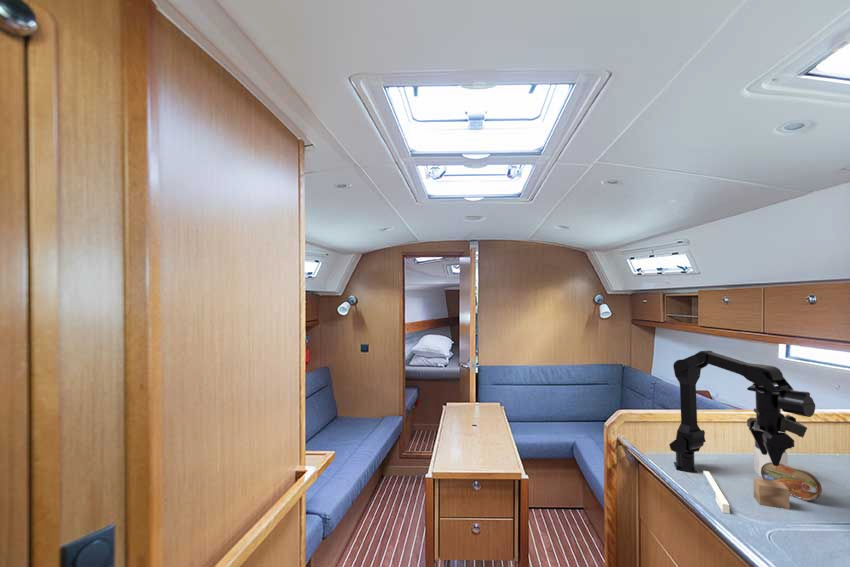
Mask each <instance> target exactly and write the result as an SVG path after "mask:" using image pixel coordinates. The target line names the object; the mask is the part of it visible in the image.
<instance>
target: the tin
mask: <svg viewBox="0 0 850 567" xmlns="http://www.w3.org/2000/svg"><path fill="white" fill-rule="evenodd" d="M761 475H762V477H761V479H764V480H771V481H778V482H782V483H783V484H784V485H785V486H786V487H787V488H788V489H789V494H792V495H795V496H797V497H801V498H802V499H804V500H803V501H807V502H809V501H814V500H817V499H818V498H820V497H821V495H822V492H823V489H822V485H821V483H820V481H819V479H818V478H817V477H815V476H814V475H813V474H812V473H810V472H809V471H805V470H803V469H798V468H795V467H792V466H786V465H783V464H780V463H779V466H774V465H773V464H772V463H766V464H764V465H763V466H762V468H761ZM802 499H801V500H802Z"/></svg>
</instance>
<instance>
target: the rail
mask: <svg viewBox="0 0 850 567" xmlns="http://www.w3.org/2000/svg"><path fill="white" fill-rule="evenodd" d="M702 474H703V475H702V476H703V477H702V478H703V480H704V482H705V484H706V485H707V487H708V489H709V491H710V492H711V495H712V496H713V498H714V499H715V501H716V503H717V505H718V506H719V508H720V510H721V512H722V513H723V514H730V512H731V511H730V504H729V501H728V500H727V498H726V497H725V496H724V494H723V493H722V491H721V489H720V488H719V486H718V484H717V482H716V481H715V479H714V478H713V476H712V474H711V473H710V471H707V470H703V471H702Z"/></svg>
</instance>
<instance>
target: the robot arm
mask: <svg viewBox="0 0 850 567" xmlns="http://www.w3.org/2000/svg"><path fill="white" fill-rule="evenodd" d="M708 365H711V366H714V367H717V368H720V369H722V370H726V371H728V372H731V373H735V374H737V375H740V376H742V377H744V378H745V379H746V380H748V381H749V382H750V383H752V384H751V385H750V386H748V387H747V388H746V390H747V391H751V392H755V394H754V395H755V408H754V407H753V412H754V413H755V417H749V418H748V419H746V426H747V427H748V431H749V432H750V433H751V435H752V437H753V438H754V442H755V441H756V443H757V445H758V447H759V449H760V451H761V453H762V454H763V455H767V452H768V455H769V457H770V459H771V461H772V464H773V465H774V466H779V463H780V460H781V457H782V455H783V452H784V451H785V450H788V449H792V448H795V439H794V438H792V437H791V436H790V435H789V434H788V433H787V432H790V433H792V434H794V435H796V436H798V437H800V438H804V437H805V434H806V432H807V430H808V427H807V426H805V425H804V424H802V423H800V422H797V418H795V417H794V416H791V415H789V414H793V415H798V416H801V417H807V418H811V417H813V416H814V414H815V411H816V403H815V401H814V399H813V397H811V393H810V392H808V391H803V390H801V391H800V390H794V388H793V387H792V386H791V385H790V383H789V382H788V380H787V379H786V378H785V377H784V374H783V372H782V371H781V369H779V367H776V366H774V365H767V364H760V363H752V362H750V363H748V362H746V361H743V360H740V359H738V358H737V359H736V358H733V357H730V356H726V355H723V354H720V353H717V352H714V351H712V350H700V351H698V352H697V353H694V354H693V355H690V356H688V357H685V358H683V359H677V360H676V361H674V362H673V366H672V367H673V371H674V376H675V378H676V379H677V381H678V383H679V399H680V401H679V403H680V425H679V426H678V429H677V430H676V434H675V435H676V436H675V439H674V440H673V441H672V442H670V443H668V444H669V448H670V450H671V451H672V452H675V461H673V464H674V465H673V466H674V467H675V469H676V470H678V471H683V472H690V473H698V469H697V467H696V465H695V452H700V450H701V448H702V447H703V446H704V444H705V443H706V438H705V434H706V431H705V430H703V429H701V428H700V426H699V425H698V409H697V407H698V406H697V383H698V381H699V379H700V377H701V370H702V369H704V368H706V367H707V366H708ZM781 410H782V411H783V412H784V413H788V414H787V415H786V416H785V415H784V414H783V413H782V412H781Z"/></svg>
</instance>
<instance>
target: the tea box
mask: <svg viewBox="0 0 850 567" xmlns="http://www.w3.org/2000/svg"><path fill="white" fill-rule="evenodd" d="M752 479H753V498H754V499H755V501H756V502H757V503H758V505H759V506H764V507H770V508H775V507H776V508H777V509H781V508H783V510H789V511H790V495H789V489H788V488H787V487H786V486H785V485H784V484H783V483H782V482H778V481H771V480H764V479H763V478H756V477H753V478H752Z"/></svg>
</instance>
